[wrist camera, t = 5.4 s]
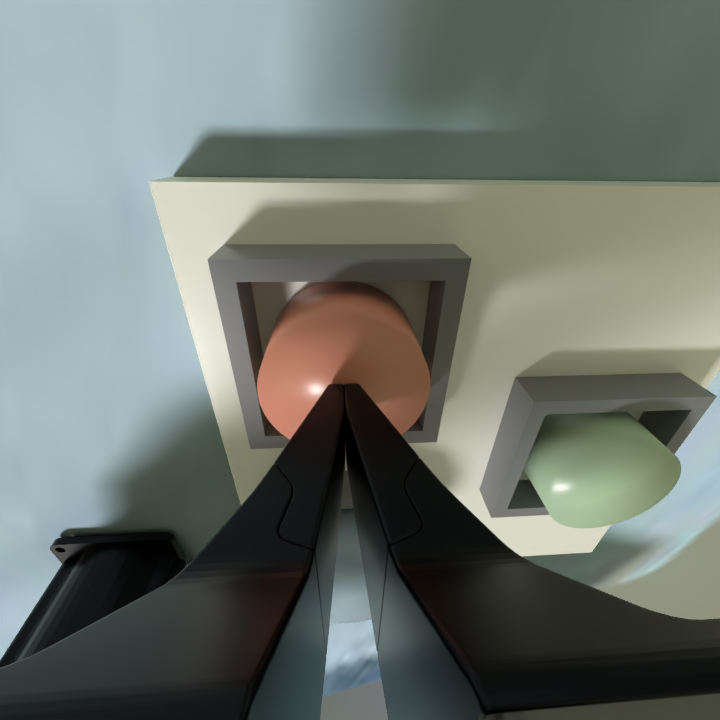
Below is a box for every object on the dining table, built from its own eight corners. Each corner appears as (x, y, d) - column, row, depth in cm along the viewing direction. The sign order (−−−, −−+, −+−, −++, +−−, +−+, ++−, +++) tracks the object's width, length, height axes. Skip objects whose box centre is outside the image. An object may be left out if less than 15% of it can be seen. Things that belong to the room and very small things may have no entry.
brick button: (280, 405, 13) (269, 456, 11) (262, 280, 10) (242, 316, 8) (406, 401, 13) (420, 450, 11) (420, 279, 10) (442, 314, 8)
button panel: (264, 545, 21) (254, 601, 18) (171, 176, 10) (117, 188, 8) (576, 528, 22) (608, 578, 20) (790, 182, 11) (921, 194, 9)
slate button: (299, 567, 17) (294, 626, 15) (290, 510, 15) (283, 571, 13) (392, 562, 18) (400, 618, 16) (399, 505, 15) (410, 564, 13)
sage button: (506, 480, 16) (532, 531, 14) (536, 401, 13) (573, 449, 11) (603, 476, 16) (643, 525, 14) (651, 397, 14) (708, 443, 12)
